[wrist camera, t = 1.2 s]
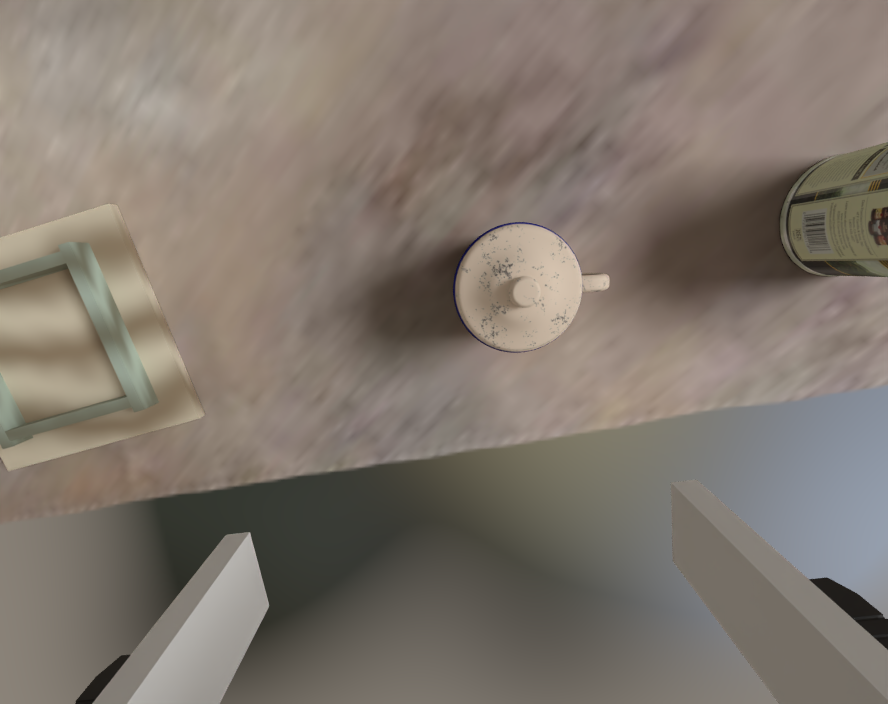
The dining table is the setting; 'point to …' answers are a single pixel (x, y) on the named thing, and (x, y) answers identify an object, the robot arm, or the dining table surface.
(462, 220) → the dining table surface
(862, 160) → the coffee can
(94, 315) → the board
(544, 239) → the teacup with lid
